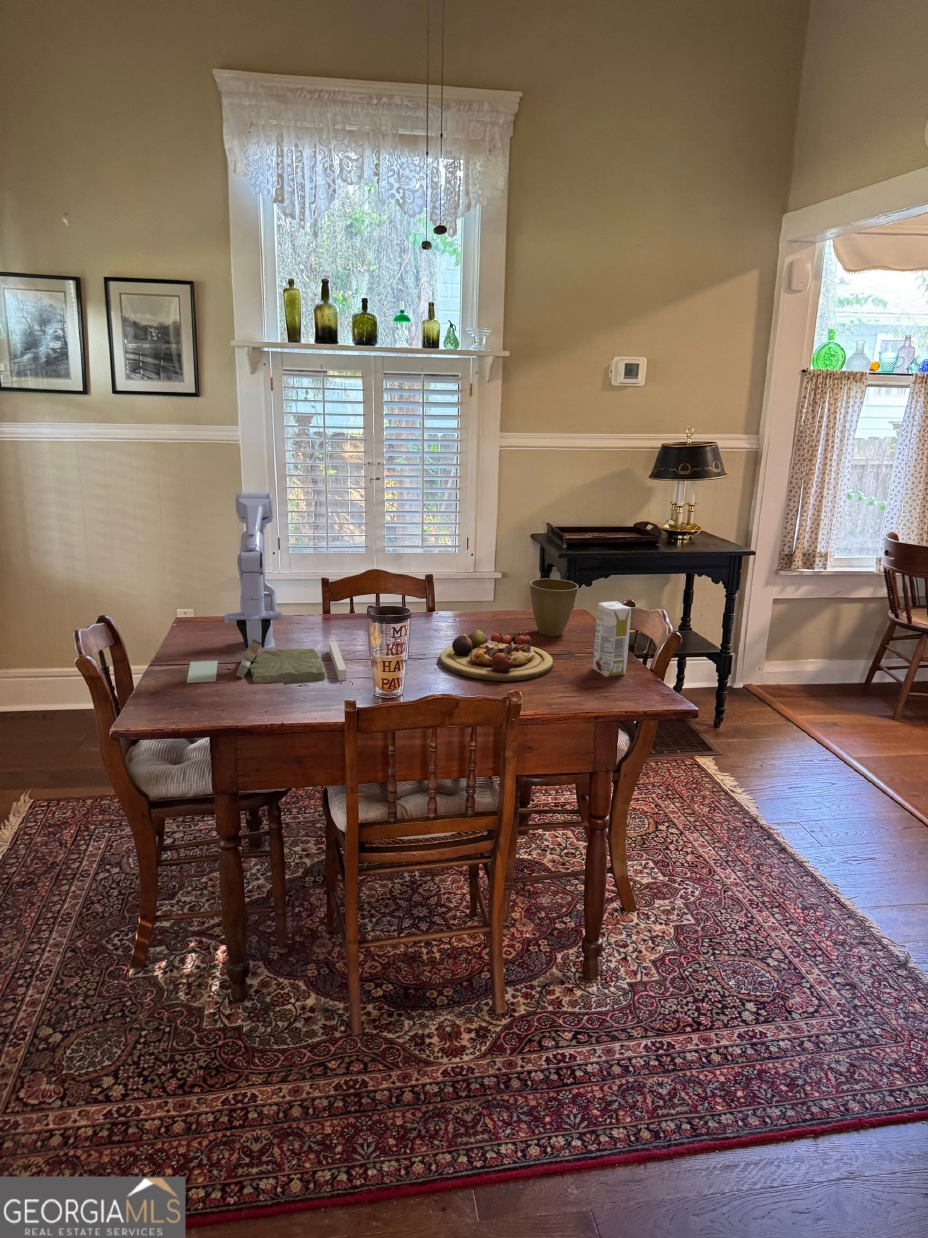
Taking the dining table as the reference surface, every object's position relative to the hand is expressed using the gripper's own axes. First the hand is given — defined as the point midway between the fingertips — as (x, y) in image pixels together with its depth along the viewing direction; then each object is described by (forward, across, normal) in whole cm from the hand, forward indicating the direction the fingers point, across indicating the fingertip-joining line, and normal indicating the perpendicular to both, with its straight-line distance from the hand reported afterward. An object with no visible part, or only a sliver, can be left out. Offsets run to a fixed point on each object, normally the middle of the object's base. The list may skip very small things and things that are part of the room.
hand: (254, 647), depth 214 cm
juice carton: (+7, +94, -18) cm, 96 cm away
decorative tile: (+7, +8, -1) cm, 11 cm away
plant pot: (+7, +91, +19) cm, 93 cm away
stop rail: (+6, +22, 0) cm, 23 cm away
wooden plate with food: (+7, +65, -5) cm, 66 cm away
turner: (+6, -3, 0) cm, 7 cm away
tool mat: (+6, -13, 0) cm, 15 cm away
